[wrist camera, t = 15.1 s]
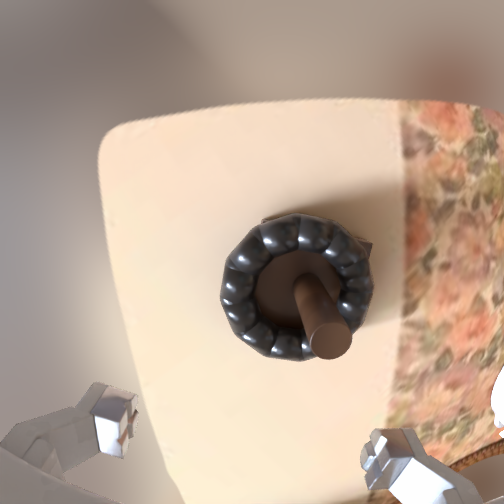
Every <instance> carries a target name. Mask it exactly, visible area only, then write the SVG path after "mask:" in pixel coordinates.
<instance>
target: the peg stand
mask: <svg viewBox="0 0 504 504" xmlns="http://www.w3.org/2000/svg"><path fill="white" fill-rule="evenodd" d="M268 221H271V220H267V219H262V222H261V224H263V223H265V222H268ZM354 238H355V237H354ZM355 239H356V240H357V241H358V242H359V243H360V244H361V245H362V246H363V247H364V249H365V250H366V253H367V256H368V260H369V256H370V252H371V248H372V243H371V242H369V241H367V240H365V239H360V238H355ZM340 288H341V286H340V282H339V279H338V275H337V271H336V268H335V267H334V266H333V265H332V264H331V263H329V262H328V261H327V260H326V259H325V258H324V257H323V256H322V255H321V254H317V253H312V252H307V251H301V250H296V251H293V252H290V253H287V254H284V255H281V256H278V257H275V258H274V259H273V260H272V261H271V262H270V264H269V265H268V266H267V267H266V268H265V269H264V270H263V271H262V272H261V274H260V275H259V279H258V284H257V289H256V293H255V297H256V299H257V302H258V305H259V307H260V310H261V313H262V314H263V315H264V316H265V317H267V318H268V319H269V320H270V321H272V322H273V323H274V324H276V325H277V326H279V327H285V328H292V329H302V328H304V329H305V332H306V335H307V338H308V341H309V345H310V348H311V350H312V352H313V353H314V354H315V355H316V356H317V357H319V358H322V359H335V358H338V357H340V356H342V355H343V354H344V353H345V352H346V351H347V350H348V349H349V347H350V345H351V343H352V332H351V330H350V328H349V327H348V325H347V323H346V322H345V320H344V318H343V316H342V315H341V313H340V311H339V310H338V308H337V306H336V303H337V299H338V296H339V292H340Z"/></svg>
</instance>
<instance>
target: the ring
mask: <svg viewBox="0 0 504 504" xmlns="http://www.w3.org/2000/svg"><path fill="white" fill-rule="evenodd" d="M296 250H301V251H307V252H312V253H317V254H321V255H322V256H323V257H324V258H325V259H326V260H327V261H328V262H329V263H331V264H332V265H333V266H334V267H335V268H336V271H337V275H338V279H339V282H340V286H341V288H340V292H339V296H338V299H337V303H336V306H337V308H338V310H339V311H340V313H341V315H342V316H343V318H344V320H345V322H346V323H347V325H348V327H349V328H350V330H351V332H352V335H353V334H354V333H355V332H356V331H357V330H358V329H359V328H360V327H361V325H362V324H363V322H364V320H365V317H366V314H367V311H368V308H369V305H370V301H371V298H372V295H373V291H374V281H373V277H372V273H371V269H370V264H369V260H368V256H367V253H366V250H365V249H364V247H363V246H362V245H361V244H360V243H359V242H358V241H357V240H356V239H355V238H354V237H353V236H352V235H351V234H350V233H349V232H347V231H346V230H345V229H344V228H343V227H342V226H341V225H340V224H339V223H338V222H336V221H333V220H329V219H325V218H320V217H315V216H310V215H305V214H300V213H292V214H289V215H286V216H283V217H280V218H277V219H274V220H271V221H268V222H265V223H263V224H260V225H257V226H255V227H254V228H252V230H250V232H249V233H248V234H247V235H246V236H245V237H244V239H243V240H242V241H241V242H240V243H239V244H238V245H237V247H236V248H235V249H234V250H233V251H232V252H231V254H230V255H229V256H228V258H227V260H226V263H225V268H224V274H223V280H222V286H221V292H220V301H221V304H222V307H223V309H224V311H225V314H226V316H227V319H228V321H229V323H230V326H231V328H232V330H233V332H234V334H235V335H236V336H237V337H238V338H240V339H241V340H242V341H244V342H245V343H246V344H248V345H249V346H250V347H252V348H253V349H254V350H256V351H257V352H259V353H260V354H261V355H263V356H265V357H269V358H276V359H283V360H291V361H299V362H301V361H306V360H309V359H312V358H315V357H317V356H316V355H315V354H314V353H313V352H312V350H311V348H310V345H309V341H308V338H307V335H306V332H305V329H304V328H302V329H292V328H285V327H279V326H277V325H276V324H274V323H273V322H272V321H270V320H269V319H268V318H267V317H265V316H264V315H263V314H262V313H261V310H260V307H259V305H258V302H257V299H256V297H255V293H256V289H257V284H258V279H259V275H260V274H261V272H262V271H263V270H264V269H265V268H266V267H267V266H268V265H269V264H270V262H271V261H272V260H273V259H274V258H275V257H278V256H281V255H284V254H287V253H290V252H293V251H296Z"/></svg>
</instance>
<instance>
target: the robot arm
mask: <svg viewBox="0 0 504 504" xmlns="http://www.w3.org/2000/svg"><path fill="white" fill-rule="evenodd" d="M137 404H138V395H137V394H134V393H131V392H128V391H125V390H122V389H119V388H116V387H113V386H109V385H106V384H104V383H101V382H98V381H96V382H94V383H93V384H92V385H91V387H90V388H89V389H88V391H87V392H86V393H85V395H84V396H83V397H82V399H81V400H80V401H79V403H78V404H77V405H76V407H75V408H74V407H68V408H65V409H62V410H59V411H56V412H53V413H50V414H47V415H44V416H41V417H38V418H34V419H31V420H28V421H24V422H21V423H18V424H16V425H15V426H14V427H13V428H12V429H11V431H10V432H9V433H8V434H7V435H6V437H5V438H4V439H3V440H2V441H1V442H0V504H123V503H120V502H117V501H114V500H111V499H109V498H106V497H103V496H100V495H98V494H95V493H92V492H90V491H87V490H85V489H82V488H80V487H78V486H75V485H73V484H70V483H68V482H66V480H65V477H64V475H63V473H64V472H66V471H68V470H70V469H72V468H73V467H75V466H77V465H79V464H80V463H82V462H84V461H86V460H88V459H89V458H91V457H93V456H95V455H96V454H98V453H99V451H100V452H103V453H106V454H109V455H112V456H115V457H119V458H122V459H123V458H124V456H125V453H126V451H127V449H128V447H129V439H130V438H132V437H133V436H134V433H135V431H136V428H137V424H138V411H137V410H136V409H135V408H136V406H137ZM491 407H492V409H493V411H494V412H495V420H494V424H495V425H496V426H497V427H498V428H501V427H504V367H503V368H502V370H501V372H500V374H499V376H498V378H497V380H496V383H495V385H494V388H493V391H492V396H491ZM500 435H501V436H502V437H504V431H503V432H500ZM370 439H371V441H369V442H368V443H366V444H365V445H364V447H363V449H362V451H361V456H360V463H361V467H362V468H363V469H364V470H365V471H366V472H367V473H366V475H365V480H366V484H367V487H368V490H377V489H389V491H390V492H391V493H392V494H393V495H394V496H395V497H396V498H397V499H398V500H399V501H400V502H401V503H402V504H504V496H501V497H499V498H496V499H494V500H491V501H488V502H485V503H484V502H483V500H482V499H481V497H480V495H479V493H478V491H477V489H476V487H475V486H474V484H473V482H471V481H470V480H468V479H466V478H465V477H463V476H462V475H460V474H458V473H457V472H455V471H454V470H452V469H451V468H449V467H447V466H446V465H444V464H443V463H441V462H440V461H438V460H437V459H435V458H434V457H432V456H431V455H430V456H427V454H426V452H425V450H424V448H423V446H422V444H421V442H420V440H419V439H418V437H417V435H416V433H415V431H414V429H412V428H387V429H374V430H373V431H372V433H371V435H370Z"/></svg>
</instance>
